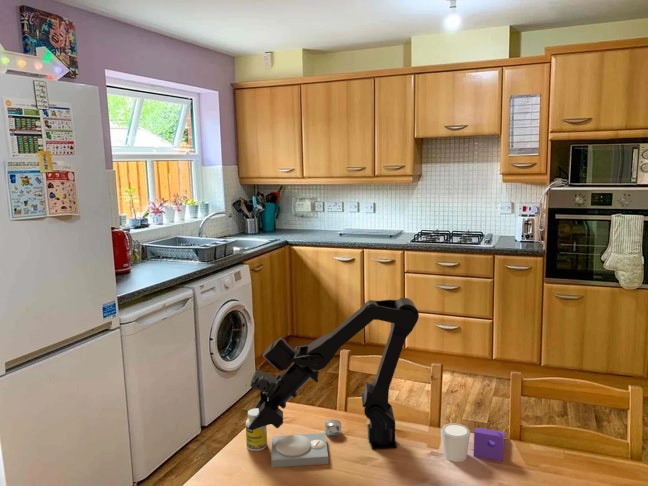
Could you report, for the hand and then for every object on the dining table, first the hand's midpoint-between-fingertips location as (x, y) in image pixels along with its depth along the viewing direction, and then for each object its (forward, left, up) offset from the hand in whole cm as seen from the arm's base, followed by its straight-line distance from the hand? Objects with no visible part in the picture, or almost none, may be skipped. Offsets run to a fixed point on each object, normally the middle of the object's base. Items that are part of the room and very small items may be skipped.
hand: (250, 423), depth 138 cm
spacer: (-22, -4, -7) cm, 23 cm away
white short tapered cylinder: (-51, +10, -7) cm, 53 cm away
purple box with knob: (-62, +7, -7) cm, 62 cm away
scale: (-12, +4, -7) cm, 15 cm away
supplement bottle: (-1, 0, -7) cm, 7 cm away
